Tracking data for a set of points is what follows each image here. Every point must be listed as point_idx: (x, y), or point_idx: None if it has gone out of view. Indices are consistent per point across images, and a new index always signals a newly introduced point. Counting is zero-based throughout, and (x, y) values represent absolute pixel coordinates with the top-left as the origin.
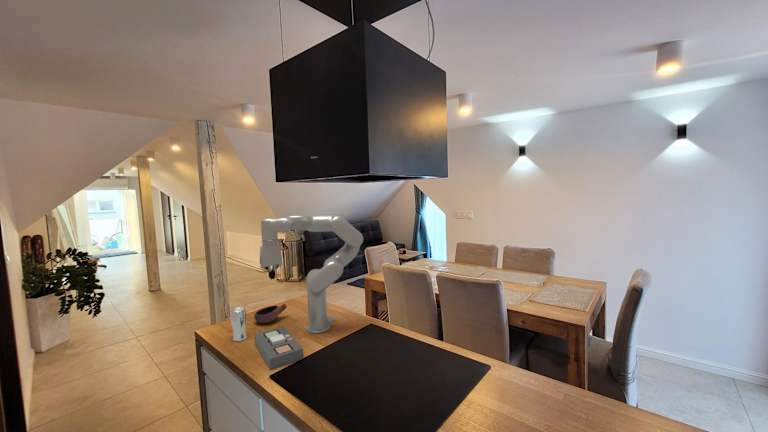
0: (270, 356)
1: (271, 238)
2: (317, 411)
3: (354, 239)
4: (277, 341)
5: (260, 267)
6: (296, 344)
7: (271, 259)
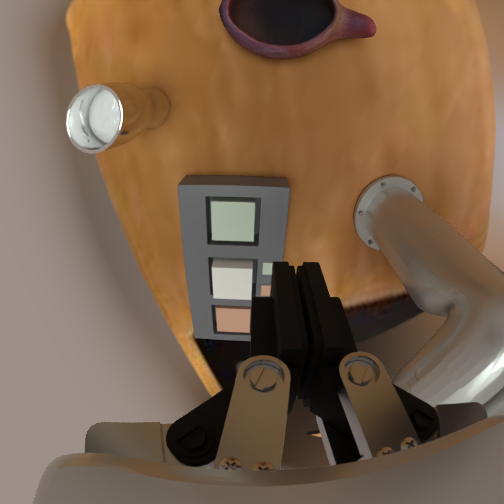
0: (198, 330)
1: None
2: None
3: None
4: (227, 297)
5: (93, 445)
6: None
7: None
